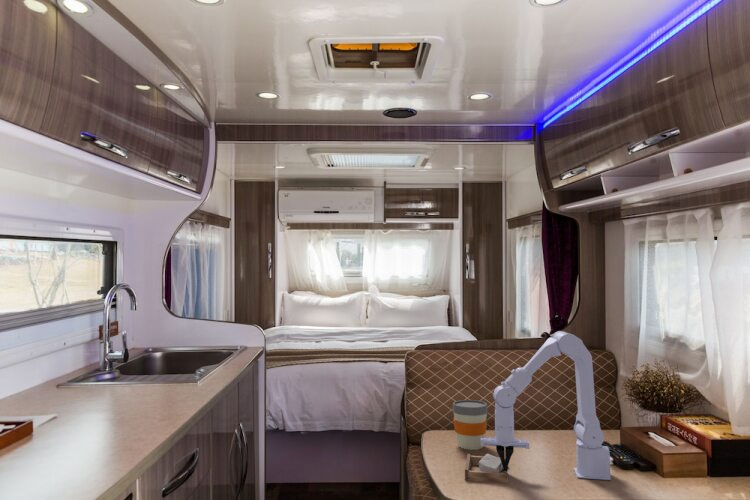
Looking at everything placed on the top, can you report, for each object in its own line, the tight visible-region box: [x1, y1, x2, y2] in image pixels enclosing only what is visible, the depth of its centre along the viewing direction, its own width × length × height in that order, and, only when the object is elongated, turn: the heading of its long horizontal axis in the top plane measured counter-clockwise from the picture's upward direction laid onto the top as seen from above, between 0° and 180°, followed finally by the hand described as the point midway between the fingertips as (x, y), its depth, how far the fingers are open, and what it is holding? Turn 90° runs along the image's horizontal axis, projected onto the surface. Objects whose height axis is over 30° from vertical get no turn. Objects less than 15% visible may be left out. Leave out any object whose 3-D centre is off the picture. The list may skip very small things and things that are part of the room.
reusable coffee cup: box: [452, 399, 489, 451], centre depth 199 cm, size 13×13×15 cm
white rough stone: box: [478, 453, 503, 473], centre depth 172 cm, size 10×6×6 cm, turn 146°
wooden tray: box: [464, 453, 509, 484], centre depth 171 cm, size 12×15×3 cm
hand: (505, 470), depth 170 cm, fingers closed
